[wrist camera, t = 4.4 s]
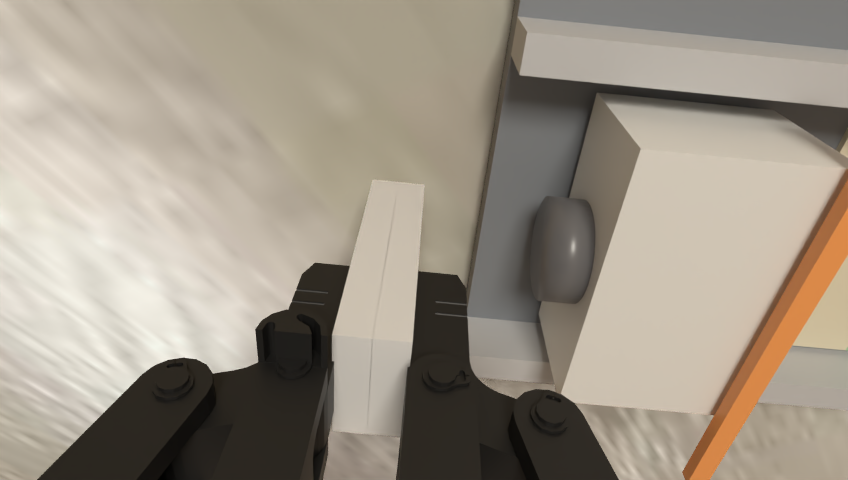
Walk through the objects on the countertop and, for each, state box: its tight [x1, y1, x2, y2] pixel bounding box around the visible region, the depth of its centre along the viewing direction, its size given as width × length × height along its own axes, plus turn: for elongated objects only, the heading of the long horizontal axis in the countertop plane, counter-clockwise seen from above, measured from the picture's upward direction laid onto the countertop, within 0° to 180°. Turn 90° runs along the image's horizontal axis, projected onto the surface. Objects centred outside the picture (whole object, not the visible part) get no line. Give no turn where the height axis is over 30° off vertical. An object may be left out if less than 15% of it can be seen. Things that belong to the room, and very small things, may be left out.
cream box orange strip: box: [530, 93, 848, 480], centre depth 15 cm, size 6×13×5 cm, turn 175°
